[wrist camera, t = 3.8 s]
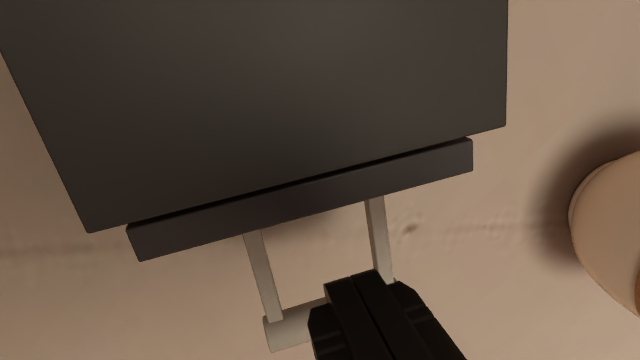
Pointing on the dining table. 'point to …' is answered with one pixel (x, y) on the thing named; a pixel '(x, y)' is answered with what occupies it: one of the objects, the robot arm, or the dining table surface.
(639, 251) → the trinket box
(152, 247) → the drawer
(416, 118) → the black box
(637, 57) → the dining table surface
